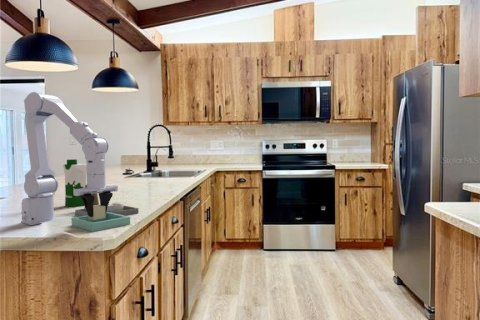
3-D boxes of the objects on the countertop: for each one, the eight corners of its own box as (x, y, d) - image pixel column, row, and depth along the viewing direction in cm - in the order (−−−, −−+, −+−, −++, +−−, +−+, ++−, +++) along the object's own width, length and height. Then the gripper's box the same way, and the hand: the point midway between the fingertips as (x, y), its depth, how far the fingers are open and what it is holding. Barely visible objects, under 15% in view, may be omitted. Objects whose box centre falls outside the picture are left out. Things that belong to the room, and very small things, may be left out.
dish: (92, 233, 116) (92, 223, 115) (71, 227, 124) (71, 217, 124) (130, 225, 126) (130, 216, 125) (108, 220, 134) (108, 212, 134)
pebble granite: (116, 213, 143) (116, 204, 143) (110, 212, 146) (110, 203, 146) (125, 212, 147) (125, 203, 146) (119, 211, 149) (119, 202, 149)
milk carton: (61, 206, 165) (60, 159, 164) (80, 203, 172) (79, 158, 171) (74, 207, 160) (73, 160, 159) (92, 204, 168) (91, 159, 166)
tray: (96, 222, 132) (96, 214, 131) (75, 216, 141) (75, 209, 141) (138, 214, 144) (138, 208, 144) (116, 210, 154) (116, 204, 154)
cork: (95, 209, 156) (94, 182, 156) (103, 211, 152) (102, 183, 152) (81, 211, 152) (80, 183, 151) (88, 213, 148) (88, 185, 147)
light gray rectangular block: (104, 218, 136) (104, 206, 135) (98, 216, 138) (98, 205, 138) (114, 216, 139) (114, 205, 138) (108, 214, 141) (108, 204, 141)
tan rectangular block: (94, 219, 124) (93, 207, 123) (88, 218, 126) (87, 206, 126) (105, 217, 127) (105, 205, 126) (99, 216, 129) (99, 204, 129)
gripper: (80, 176, 117) (81, 220, 118) (122, 173, 128) (123, 213, 129) (69, 175, 122) (70, 217, 123) (111, 172, 133) (111, 211, 134)
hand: (96, 215), depth 126 cm, fingers closed on tan rectangular block, 4 cm apart
